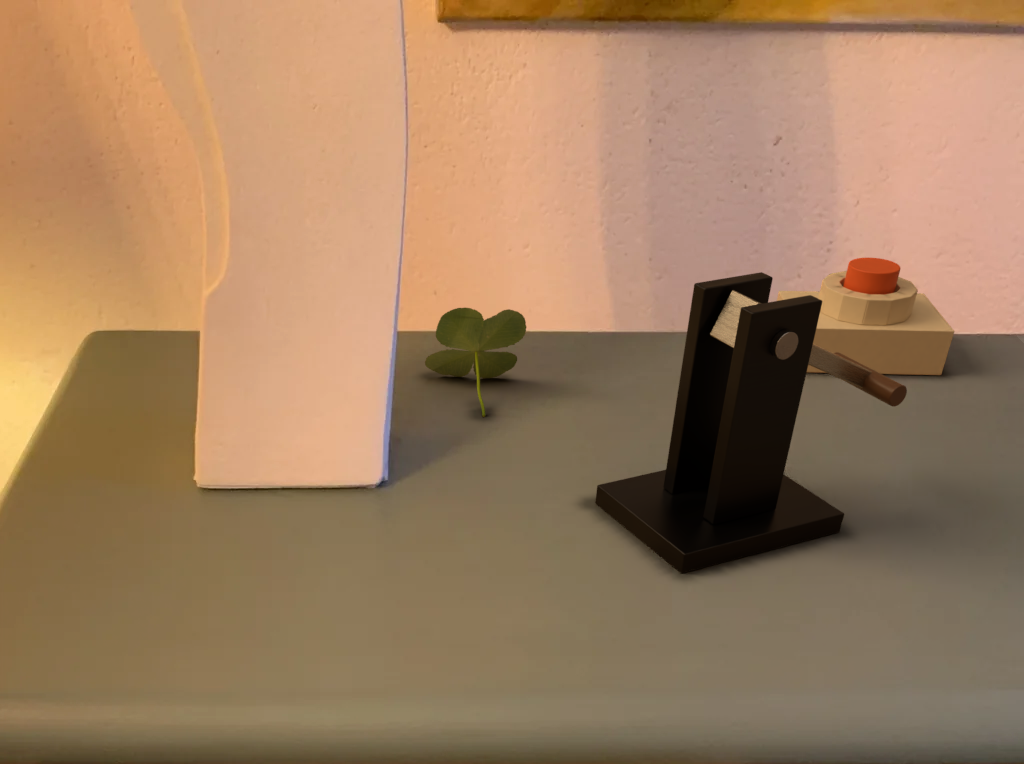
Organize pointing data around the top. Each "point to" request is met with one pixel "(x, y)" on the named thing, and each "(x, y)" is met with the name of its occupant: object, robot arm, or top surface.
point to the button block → (880, 327)
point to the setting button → (872, 276)
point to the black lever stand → (730, 438)
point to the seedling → (476, 344)
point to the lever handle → (816, 356)
